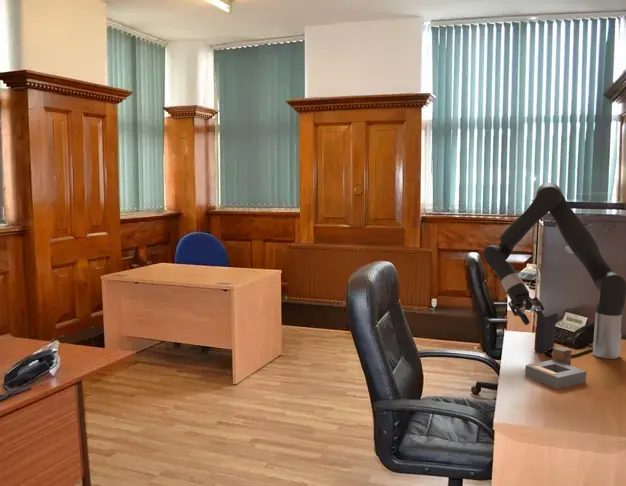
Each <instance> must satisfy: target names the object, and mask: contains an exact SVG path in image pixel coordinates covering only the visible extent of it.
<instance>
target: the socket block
mask: <svg viewBox="0 0 626 486" xmlns="http://www.w3.org/2000/svg"><path fill="white" fill-rule="evenodd" d="M524 371H525V372H524V373H525V374H524V376H525V377H527V378H529V379H531V380H534V381H537V382H539V383H541V384H544V385H546V386H548V387H552V388H554V389H556V390H559V389H563V388H567V387H572V386H577V385H581V384H586V383H587V370H583V369H581V368H578V367H574V366H572V365H571V366H570V365H567V364H564V363H561V362H559V361H556V360H552V359H550V360H546V361H541V362H536V363H530V364H529V363H528V364H526V365H525V370H524Z"/></svg>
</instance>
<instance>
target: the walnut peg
mask: <svg viewBox="0 0 626 486" xmlns="http://www.w3.org/2000/svg"><path fill="white" fill-rule="evenodd" d="M552 353H553V354H552V355H551V360H556V361H559V362H561V363H564V364H567V365H570V366H572V353H573V352H572V349H570V348H567V347H565V346H556V347H554V348H553V349H552Z"/></svg>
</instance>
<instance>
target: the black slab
mask: <svg viewBox="0 0 626 486" xmlns="http://www.w3.org/2000/svg"><path fill="white" fill-rule="evenodd" d="M542 313H543V312H542ZM543 315H544V316H545V318H546V321H544V322H542V323H541V321H540V320H539V318H538V316H537V315H536V324H535V325H536V326H535V333H534V349H533V350H534V352H535V353H538V354H544V353H546V352H548V351H550V350H549V349H550V348H552V347H554V348H555V335H556V323H557V321H558V312H555V311H546V312H544V313H543ZM547 350H548V351H547ZM545 351H546V352H545Z"/></svg>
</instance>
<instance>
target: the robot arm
mask: <svg viewBox="0 0 626 486" xmlns="http://www.w3.org/2000/svg"><path fill="white" fill-rule="evenodd" d="M535 194H536V195H535V197H534V199H533V201H532V202H531V204H530V205H528V207H527V209H526V210H525V211H524V212H522V214H521V215H520V216H518V217H517V218H516V219H515V220H514V221H513V222H512V223H511V224H509V226H508V227H506V229H505V230H504V231H502V233H501V234H500V237H499V241H500V243H498V245H493V244H489V245H486V246H485V248H484V249H483V251H482V252H483V253H482V255H483V258H484V261H485V262H486V263H487V265H488V266H489V267H490V268H491V269H492V271H494V273H495V274H496V276H497V277H498V279H499V281H500V282H501V284H502V286H503V287H502V288H504V291H505V293H506V294H507V296H508V297H509V299H510V301H509V302H508V306H509V308H510V311H511V312H512V314H513V316H514V317H517V316H518V317H519V318H520V319H521V321H522V323H523V324H524V325H525V326H527V325H529V324H531V323H530V322H531V321H530V319H529V317H528V316H527V314H526V313H525V312H526V311H530V312H533V313H534V314H536V317H537V316H538V318H539V320H540V321H541V323H542V322H544V321H546V318H545V316H544V315H543V311H544V310H545V307H544V306H543V304H542V302H541V301H540V300H539V298H538V297H537V296H535V297H531V296H530V291H529V289H528V288H527V286H526V285H525V282H523V279H522V278H521V277H520V276H519V275H518V273H517V271H516V269H515V268H514V267H513V264H511V263H510V262H508V261H507V260H508V259H509V257H510V256H511V253H512V252H513V250H514V248H515V246H517V245H518V244H519V243H520V241H521V240H523V238H524V237H525V236H526V235H527V234H528V233H529V231H530V230H531V229H532V228H533V227H534V226H535V225H536V224H537V223H538V222H539V221H540V220H541V219H542V218H544V216H545V215H547V214H548V213H549V214H550V215H551V217H552V218H553V219H554V221H555V224H556V226H557V228H558V230H559V233H560V234H561V236H562V238H563V241H565V243H566V244H567V246H568V247H569V249H570V250H571V251H572V253H573V254H574V255H575V257H576V258H577V260H579V262H580V263H581V264H582V265H583V266H584V267H585V269H586V271H587V272H588V274H589V276H590V278H591V280H592V281H593V283H594V285H595V287H596V289H597V290H598V292H600V293H599V301H598V303H597V304H596V305H595V306H596V307H595V319H594V331H593V332H594V333H593V345H592V355H594V357H597V358H601V359H606V360H607V359H608V360H615V359H618V358H619V357H620V356H621V348H622V347H621V346H622V345H621V344H622V337H623V336H622V335H623V334H622V332H621V330H622V317H623V315H622V314H623V310H624V308H625V304H626V280H625V278H624V277H623V276H622V275H620V274H618V273H616V272H615V271H614V270H613V269H612V268H611V267H610V266H609V265H608V264H607V262H606V261H605V259H604V258H603V256H602V254H601V252H600V248H599V245H598V243H597V241H596V239H595V238H594V237H593V235H592V234H591V232H590V230H588V228H587V227H586V226H585V224H584V223H583V221H582V220H581V219H580V217H579V216H578V215H577V214H576V213H575V211H574V210H573V209H572V208H571V207H570V205H569V203H568V202H567V200H566V197H565V196H564V194H563V192H562V190H561V188H560V187H559V185H557V184H555V183H553V182H544V183H543V184H541V185H540V186H539V187H538V189H537V191H536V193H535Z"/></svg>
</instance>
